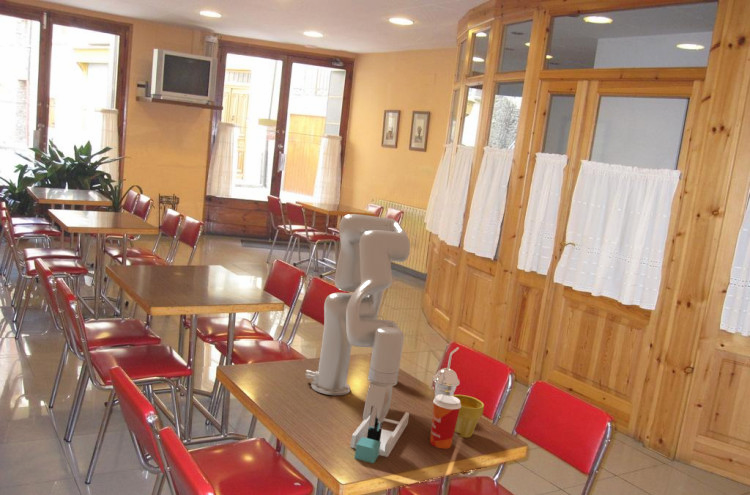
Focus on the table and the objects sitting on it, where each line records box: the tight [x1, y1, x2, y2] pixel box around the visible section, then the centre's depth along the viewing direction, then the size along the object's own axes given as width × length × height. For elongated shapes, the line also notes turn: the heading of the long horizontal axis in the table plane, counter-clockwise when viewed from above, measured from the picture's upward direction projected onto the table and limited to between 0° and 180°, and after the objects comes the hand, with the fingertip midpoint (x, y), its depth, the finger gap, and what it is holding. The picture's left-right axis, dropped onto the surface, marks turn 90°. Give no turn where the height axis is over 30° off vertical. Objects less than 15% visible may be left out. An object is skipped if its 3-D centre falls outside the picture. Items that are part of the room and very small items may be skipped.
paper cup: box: [429, 394, 461, 449], centre depth 177 cm, size 8×8×14 cm
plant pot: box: [452, 394, 485, 438], centre depth 190 cm, size 10×10×10 cm
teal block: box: [354, 437, 381, 464], centre depth 164 cm, size 5×5×5 cm
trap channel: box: [349, 411, 410, 458], centre depth 178 cm, size 10×24×4 cm, turn 165°
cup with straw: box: [432, 346, 460, 398], centre depth 205 cm, size 8×9×20 cm
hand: (372, 443), depth 169 cm, fingers closed
